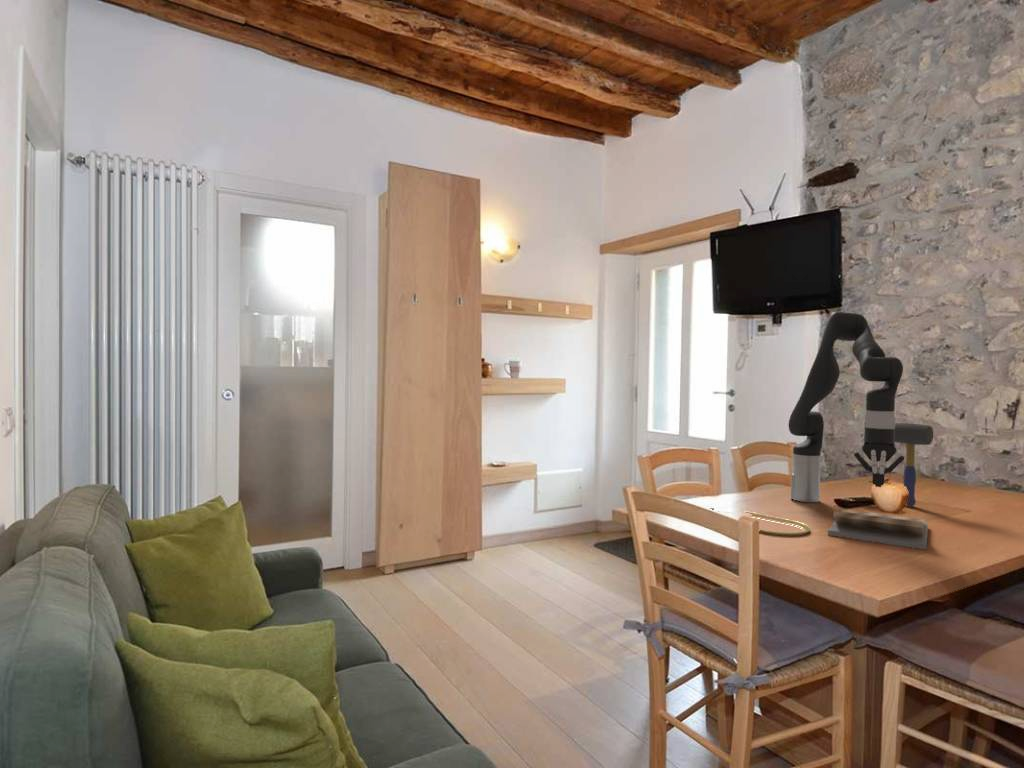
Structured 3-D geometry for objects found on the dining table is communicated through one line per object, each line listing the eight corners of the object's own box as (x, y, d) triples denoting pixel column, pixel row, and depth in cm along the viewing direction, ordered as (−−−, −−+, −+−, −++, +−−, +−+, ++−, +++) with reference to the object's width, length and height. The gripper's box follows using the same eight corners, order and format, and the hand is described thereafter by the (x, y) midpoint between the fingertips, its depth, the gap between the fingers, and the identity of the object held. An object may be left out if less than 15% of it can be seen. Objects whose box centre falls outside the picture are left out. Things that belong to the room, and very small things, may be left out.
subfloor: (827, 535, 180) (828, 524, 180) (840, 516, 203) (840, 507, 202) (926, 550, 166) (926, 538, 166) (927, 528, 189) (927, 518, 189)
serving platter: (715, 509, 212) (715, 505, 212) (820, 530, 186) (820, 525, 186) (685, 518, 200) (685, 513, 200) (793, 542, 174) (793, 536, 174)
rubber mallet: (932, 508, 217) (935, 424, 216) (925, 511, 212) (927, 425, 211) (893, 501, 226) (895, 421, 226) (885, 504, 222) (888, 422, 221)
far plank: (839, 518, 194) (840, 513, 194) (843, 513, 200) (843, 509, 200) (923, 529, 181) (923, 524, 181) (923, 524, 188) (923, 519, 188)
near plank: (833, 515, 181) (833, 510, 181) (836, 523, 186) (836, 518, 187) (922, 527, 168) (922, 522, 169) (922, 535, 174) (922, 530, 174)
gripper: (907, 427, 174) (906, 487, 175) (854, 424, 182) (853, 482, 182) (906, 428, 168) (904, 491, 169) (852, 425, 176) (850, 485, 176)
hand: (878, 486), depth 176 cm, fingers closed
